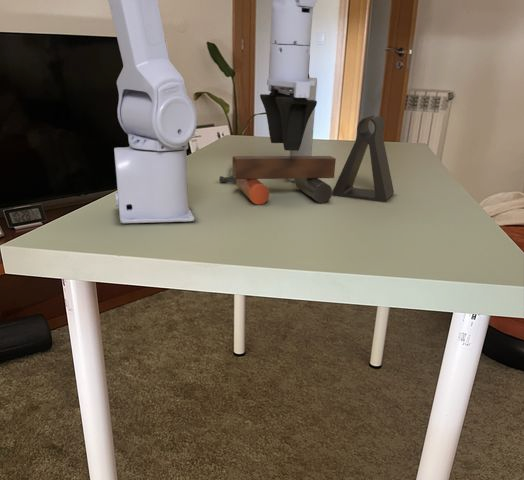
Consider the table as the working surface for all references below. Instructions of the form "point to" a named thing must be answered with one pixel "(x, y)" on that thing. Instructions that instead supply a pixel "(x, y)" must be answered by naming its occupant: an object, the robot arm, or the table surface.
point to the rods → (308, 185)
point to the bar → (283, 167)
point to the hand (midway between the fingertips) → (284, 146)
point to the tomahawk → (228, 178)
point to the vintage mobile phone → (307, 127)
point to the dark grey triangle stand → (378, 162)
